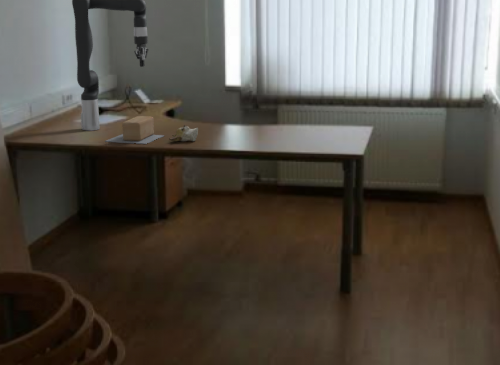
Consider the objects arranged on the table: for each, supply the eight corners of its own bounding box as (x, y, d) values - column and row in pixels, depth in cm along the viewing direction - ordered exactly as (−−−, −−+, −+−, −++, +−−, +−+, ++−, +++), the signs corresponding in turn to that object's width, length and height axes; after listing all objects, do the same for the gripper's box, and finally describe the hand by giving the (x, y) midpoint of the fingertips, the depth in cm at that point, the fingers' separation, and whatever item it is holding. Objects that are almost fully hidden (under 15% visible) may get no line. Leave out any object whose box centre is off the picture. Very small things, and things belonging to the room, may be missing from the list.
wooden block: (154, 134, 428) (140, 141, 409) (137, 133, 430) (122, 140, 412) (153, 116, 425) (139, 122, 407) (136, 115, 428) (121, 122, 409)
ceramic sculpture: (195, 126, 404) (167, 128, 405) (197, 142, 406) (169, 144, 407) (199, 122, 414) (171, 124, 415) (200, 139, 416) (173, 140, 418)
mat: (104, 141, 412) (104, 140, 412) (124, 133, 432) (124, 133, 432) (146, 144, 405) (145, 143, 405) (164, 136, 425) (164, 135, 425)
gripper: (140, 34, 443) (141, 65, 447) (129, 36, 431) (130, 67, 435) (152, 34, 440) (153, 65, 445) (141, 36, 428) (142, 68, 433)
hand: (142, 66), depth 440 cm, fingers closed
